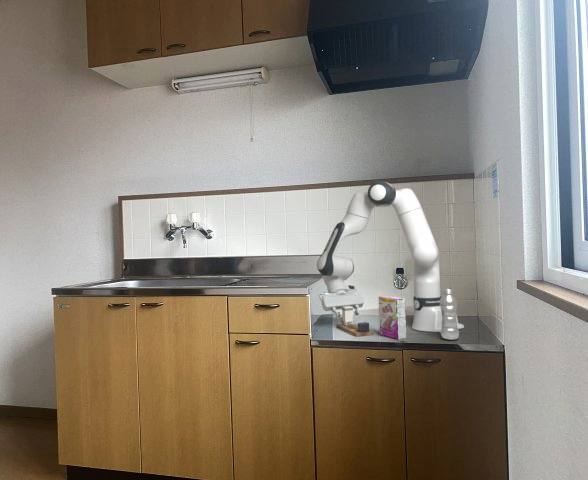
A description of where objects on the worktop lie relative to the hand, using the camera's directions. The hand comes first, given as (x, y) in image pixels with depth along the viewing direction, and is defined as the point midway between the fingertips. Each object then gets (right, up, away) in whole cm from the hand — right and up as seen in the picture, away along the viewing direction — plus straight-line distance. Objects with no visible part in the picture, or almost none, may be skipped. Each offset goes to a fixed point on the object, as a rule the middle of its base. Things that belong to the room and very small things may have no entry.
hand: (348, 315), depth 190 cm
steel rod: (+2, -4, -5) cm, 7 cm away
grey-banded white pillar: (0, -4, 0) cm, 4 cm away
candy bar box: (+16, -6, -18) cm, 25 cm away
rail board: (+2, -6, -5) cm, 8 cm away
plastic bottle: (+37, -5, -26) cm, 45 cm away
